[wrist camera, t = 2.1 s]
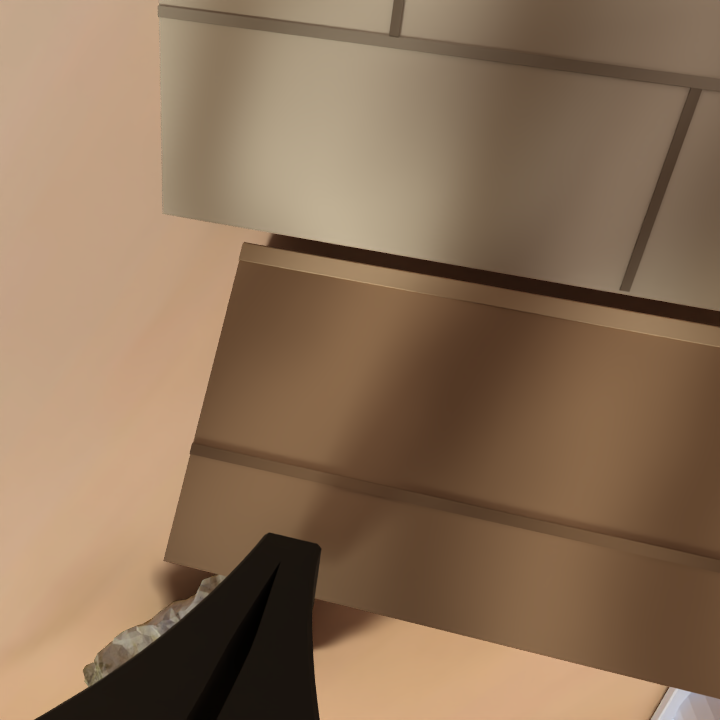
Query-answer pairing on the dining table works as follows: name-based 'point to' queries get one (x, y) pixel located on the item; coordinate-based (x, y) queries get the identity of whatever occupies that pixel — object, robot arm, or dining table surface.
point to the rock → (145, 633)
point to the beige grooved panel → (457, 132)
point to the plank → (469, 460)
